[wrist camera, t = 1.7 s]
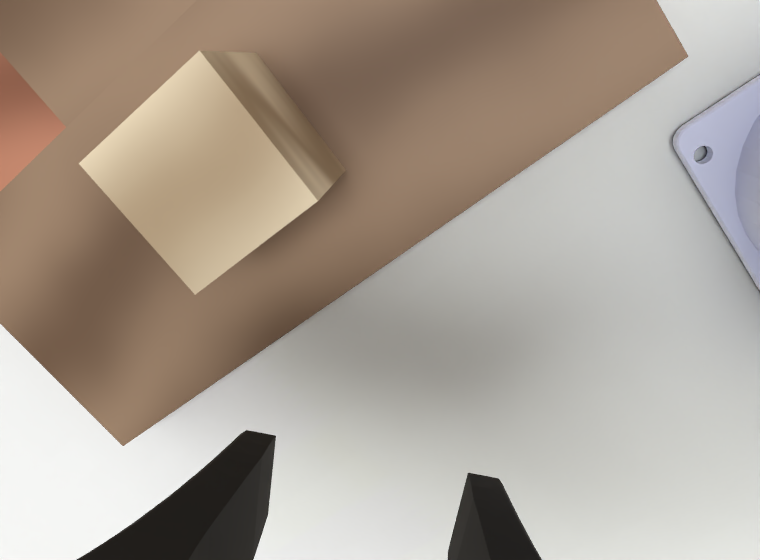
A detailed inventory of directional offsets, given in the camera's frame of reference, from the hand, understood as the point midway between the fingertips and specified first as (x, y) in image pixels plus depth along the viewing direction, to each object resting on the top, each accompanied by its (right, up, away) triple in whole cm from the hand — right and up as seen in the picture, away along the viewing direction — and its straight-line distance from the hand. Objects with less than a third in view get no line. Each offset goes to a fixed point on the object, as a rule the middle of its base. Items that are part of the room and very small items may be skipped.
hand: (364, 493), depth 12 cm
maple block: (-3, +8, +5) cm, 10 cm away
